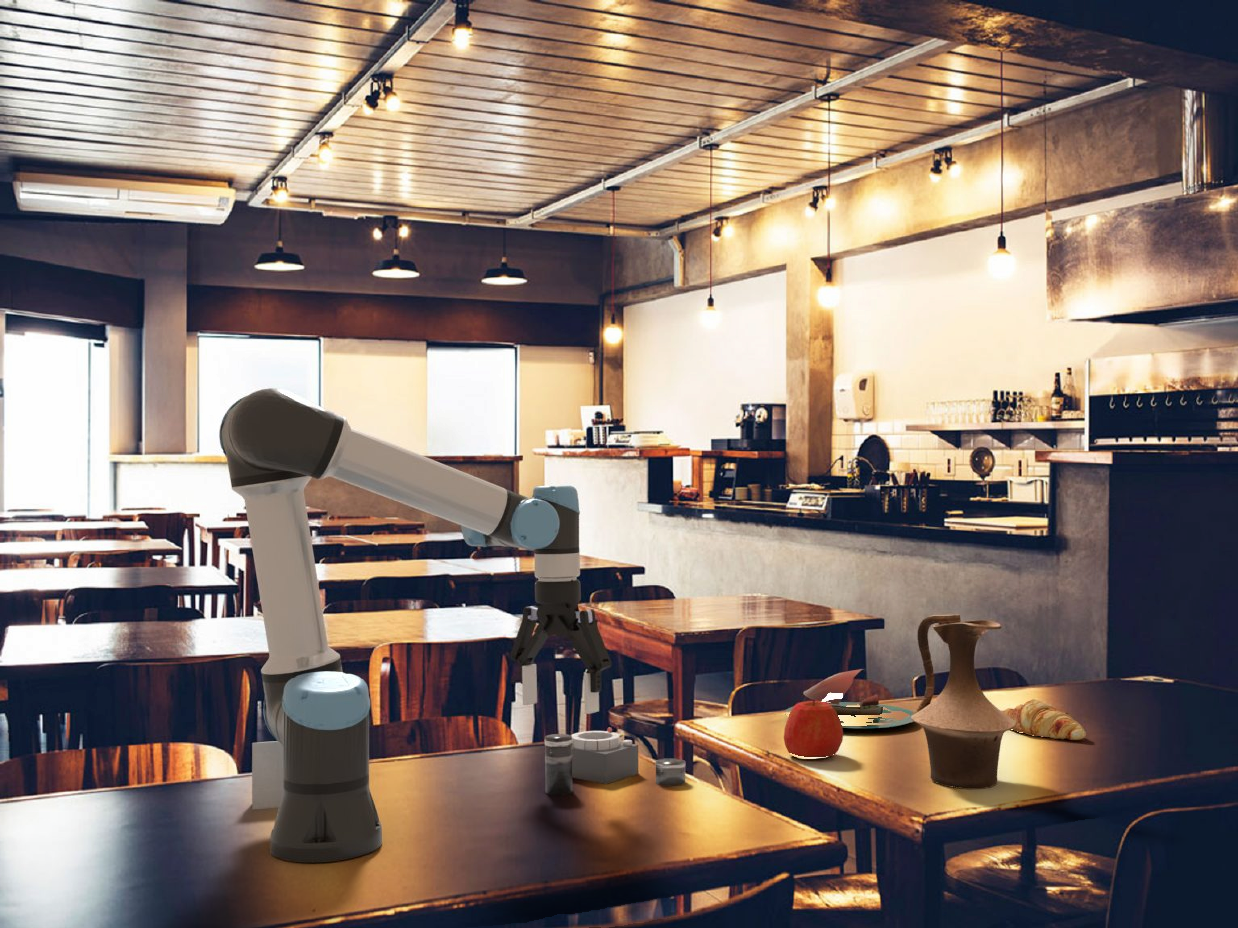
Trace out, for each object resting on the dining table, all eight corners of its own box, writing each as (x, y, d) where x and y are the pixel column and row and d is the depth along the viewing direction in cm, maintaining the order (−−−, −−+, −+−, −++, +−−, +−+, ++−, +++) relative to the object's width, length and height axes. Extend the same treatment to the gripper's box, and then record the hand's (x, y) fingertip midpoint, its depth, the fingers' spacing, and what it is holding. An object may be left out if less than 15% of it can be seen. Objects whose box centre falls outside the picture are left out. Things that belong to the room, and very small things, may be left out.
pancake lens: (673, 787, 194) (673, 766, 194) (649, 783, 197) (649, 762, 197) (691, 781, 198) (691, 761, 198) (667, 777, 201) (667, 757, 201)
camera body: (605, 783, 197) (605, 739, 197) (552, 773, 204) (552, 731, 204) (638, 773, 204) (638, 730, 204) (585, 764, 211) (585, 723, 211)
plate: (770, 711, 261) (769, 661, 261) (891, 707, 264) (891, 658, 264) (803, 737, 233) (803, 681, 233) (939, 733, 236) (938, 677, 236)
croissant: (1094, 759, 227) (1106, 720, 229) (1065, 740, 222) (1077, 701, 224) (1006, 737, 245) (1018, 702, 247) (977, 719, 240) (989, 684, 242)
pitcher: (890, 781, 196) (888, 615, 197) (939, 764, 209) (936, 607, 210) (989, 799, 185) (986, 622, 185) (1035, 779, 197) (1032, 613, 198)
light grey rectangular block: (297, 805, 185) (296, 742, 185) (252, 809, 183) (252, 745, 183) (296, 800, 188) (296, 737, 188) (252, 803, 186) (252, 740, 187)
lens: (560, 796, 189) (559, 740, 189) (539, 792, 192) (538, 737, 192) (578, 790, 192) (578, 735, 193) (557, 786, 195) (557, 732, 195)
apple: (838, 765, 209) (838, 705, 209) (778, 761, 212) (778, 702, 212) (847, 752, 219) (846, 695, 219) (789, 749, 222) (788, 692, 223)
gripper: (631, 579, 188) (634, 711, 188) (518, 574, 204) (520, 697, 203) (601, 583, 182) (604, 719, 182) (487, 578, 198) (490, 704, 197)
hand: (560, 708), depth 192 cm, fingers open, 13 cm apart
